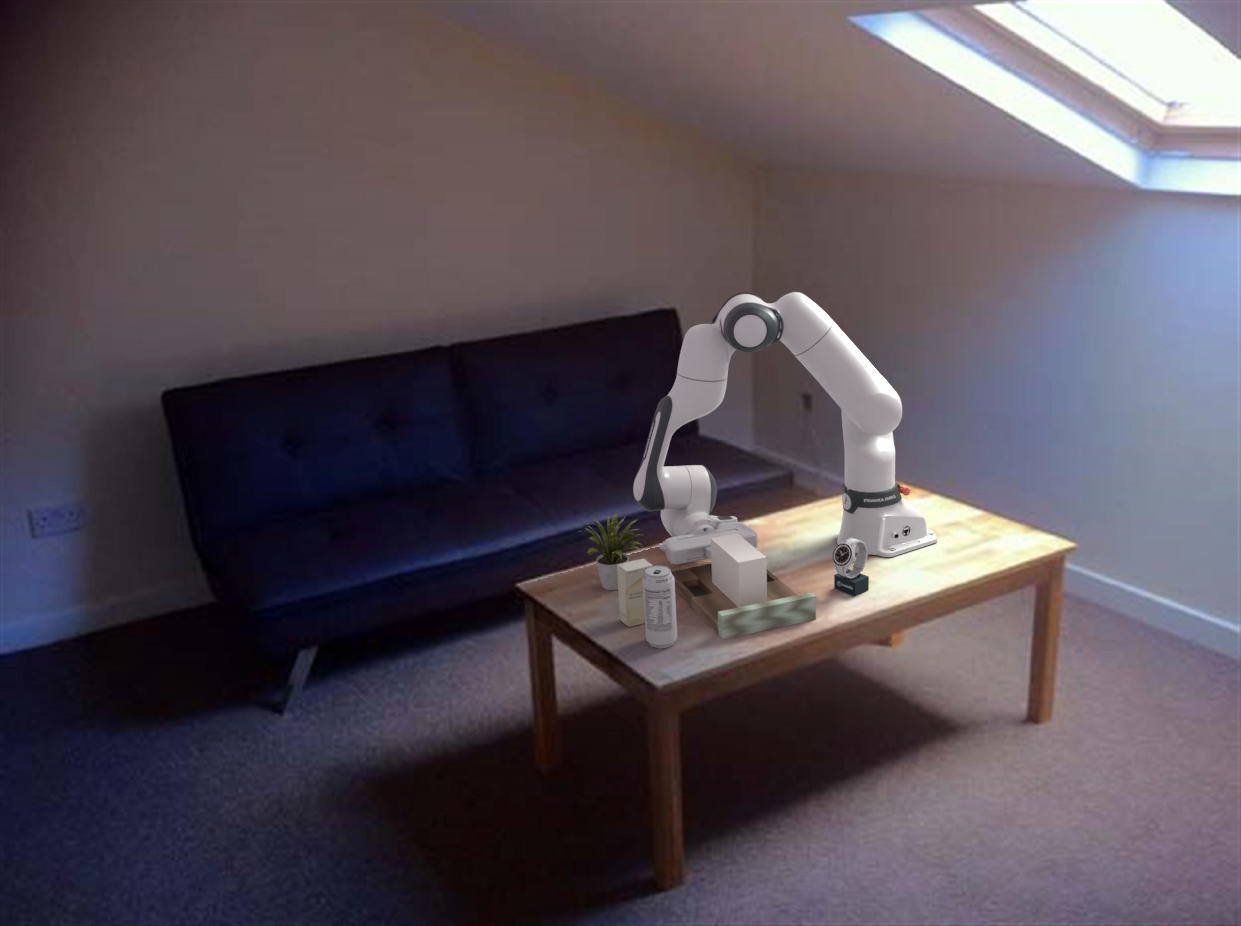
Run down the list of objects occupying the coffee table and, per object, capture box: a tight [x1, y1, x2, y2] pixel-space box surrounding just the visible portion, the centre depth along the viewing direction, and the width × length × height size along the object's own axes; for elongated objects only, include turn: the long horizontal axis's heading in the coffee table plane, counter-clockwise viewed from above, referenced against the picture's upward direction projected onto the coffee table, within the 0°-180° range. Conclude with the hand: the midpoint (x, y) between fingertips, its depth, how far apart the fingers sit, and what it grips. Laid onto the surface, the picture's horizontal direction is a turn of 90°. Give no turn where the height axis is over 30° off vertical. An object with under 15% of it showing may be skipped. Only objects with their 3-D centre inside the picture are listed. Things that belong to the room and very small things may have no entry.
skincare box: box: [617, 558, 654, 628], centre depth 222 cm, size 6×4×12 cm
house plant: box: [577, 511, 643, 591], centre depth 237 cm, size 14×14×16 cm
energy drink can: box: [643, 565, 678, 649], centre depth 212 cm, size 6×6×15 cm
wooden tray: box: [671, 563, 817, 640], centre depth 229 cm, size 20×30×5 cm, turn 18°
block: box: [710, 533, 768, 607], centre depth 227 cm, size 6×14×10 cm, turn 18°
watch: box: [831, 538, 870, 597], centre depth 230 cm, size 6×8×11 cm
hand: (725, 557), depth 233 cm, fingers closed, pressing on block
